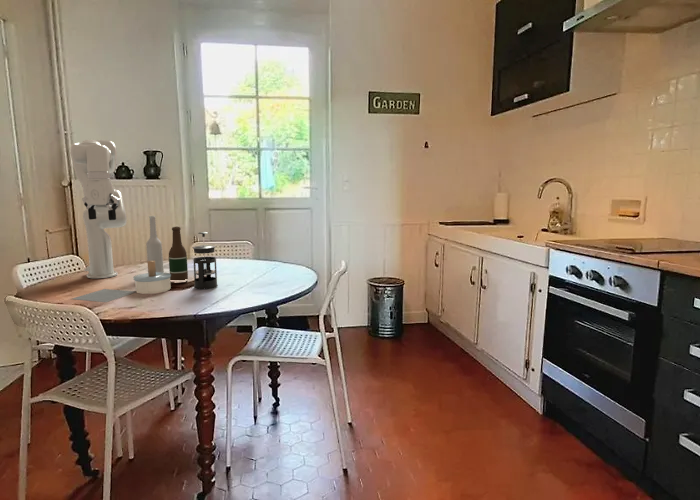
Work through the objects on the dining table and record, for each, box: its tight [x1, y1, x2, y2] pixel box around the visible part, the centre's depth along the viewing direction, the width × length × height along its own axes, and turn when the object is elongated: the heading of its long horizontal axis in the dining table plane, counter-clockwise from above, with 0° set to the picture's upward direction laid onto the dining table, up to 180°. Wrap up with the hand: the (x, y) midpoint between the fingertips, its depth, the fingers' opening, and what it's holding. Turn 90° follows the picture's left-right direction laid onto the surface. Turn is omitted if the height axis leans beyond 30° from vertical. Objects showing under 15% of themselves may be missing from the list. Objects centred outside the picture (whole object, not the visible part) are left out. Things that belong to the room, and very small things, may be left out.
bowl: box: [134, 278, 172, 295], centre depth 180 cm, size 12×12×6 cm
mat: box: [71, 288, 137, 303], centre depth 172 cm, size 16×16×1 cm
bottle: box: [145, 215, 165, 273], centre depth 204 cm, size 7×7×28 cm
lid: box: [133, 260, 171, 282], centre depth 179 cm, size 14×14×7 cm
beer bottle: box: [168, 226, 189, 280], centre depth 196 cm, size 8×8×24 cm
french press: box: [192, 231, 219, 290], centre depth 186 cm, size 12×9×23 cm
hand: (102, 219), depth 182 cm, fingers open, 9 cm apart
